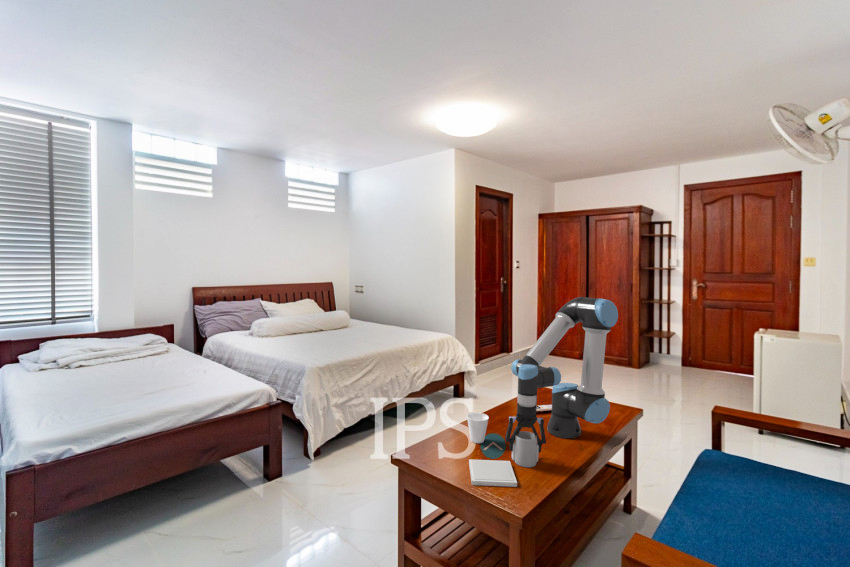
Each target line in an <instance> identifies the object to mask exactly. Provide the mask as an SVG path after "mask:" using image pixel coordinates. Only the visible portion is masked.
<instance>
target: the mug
mask: <svg viewBox="0 0 850 567" xmlns="http://www.w3.org/2000/svg"><path fill="white" fill-rule="evenodd" d="M514 443H515V460H514V463H515V464H516V465H517V466H519V467H522V468H533V467H535V466H536V465H537V462H538V461H537V436H536V437H535V435H534V433H533V432H530V431H526V430H525V431H523V430H522V431H521V430H520V432H519V434H518V435H517V436H516V435H515V441H514Z"/></svg>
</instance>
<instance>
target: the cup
mask: <svg viewBox="0 0 850 567" xmlns="http://www.w3.org/2000/svg"><path fill="white" fill-rule="evenodd" d="M466 419H467V426H468V432H469V440H470V441H471V443H473V442H474V443H473V444H482V443H484V441H485V438H486V433H487V427H488V423H489V419H490V417H489V415H488V414H486V413H483V412H471V413H468V414H467V415H466Z"/></svg>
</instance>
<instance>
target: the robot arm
mask: <svg viewBox="0 0 850 567" xmlns="http://www.w3.org/2000/svg"><path fill="white" fill-rule="evenodd" d="M618 318H619V312H618V308H617V306H616V305H615V303H614V302H613V301H611V300H609V299H605V298H598V297H597V298H596V297H586V296H578V297H575V298H573V299H571V300H569V301H568V302H566V303H565V304H564V305H562V306H561V307H560V309H559V310H557V312H556V313H555V318H554V319H553V320H552V322H551V323H550V324H549V326H547V328H546V329H545V331H544V332H543V333H542V334H541V335H540V336H539V338H538V339H537V341H535V343H534V344H533V345H532V346H531V347H530V349H529V350H528V352H527V353H526V354H525V355H524V356H523V358H522V359H521V358H519V359H518V358H517V359H515V360H514V361H512V364H511V367H510V369H511V373H512V374H513V375H514V376H515V377H517V400H516V401H517V404H516V414H515V416H511V415H509V416H508V421H509V422H508V425H507V428H506V432H505V436H504V439H505V442H506V443H509V446H508V448H509V451H510V452H511V460H512V461H515V435H516V436H517V435H518V434H519V432H520V431H521V430H522V429H523V428H529V429H531V431H532V433H534V435H535V437H536V436H537V461H536V462H539V453H541V452H542V446H543V444H545V445H546V444H547V439H546V432H545V426H544V423H545V420H544V418H543V417H542V416H541V417H537V404H538V403H537V402H538V401H537V400H538V389H541V388H549V387H551V388H552V389H551V415H550V417H549V421H548V422H547V426H546V428H547V429H546V430H547V432H548V434H551V435H552V436H555V437H557V438H561V439H567V438H573V439H576V438H575V437H578V436H580V435H581V436H582V429H581V425H580V422H579V419H581V420H584V421H586V422H588V423H592V424H595V425H596V424H600V423H603V422H604V421H605V420H606V419H607V417H608V415H609V413H610V411H611V410H610V409H611V404H610V401H609V400H608V399H607V398H606V397H605V396H606V392H605V391H604V389H603V388H602V387H603V377H604V366H605V355H606V354H605V353H606V343H607V342H606V341H607V334H608V333H610V332H611V331H612V329H611V328H613V327H614V326H615V325H616V324H617V322H618V320H619V319H618ZM578 323H581V325H582V326H581V327H582V329H583V330H584V331H585V332H584V333H585V334H584V346H583V355H582V357H583V358H582V365H581V366H582V367H581V369H582V370H581V377H580V378H581V380H580V385H579V384H577V383H571V382H561V381H562V374H561V371H560V370H559V369H558V368H557V367H554V366H549V367H546V366H545V367H544V366H541V365H542V364H543V362H544V361H545V360H546V358H547V357H548V356H549V355H550V353H551V352H552V351H553V350H554V348H556V346H557V344H558V343H559V342H560V340H561V339H562V338H563V337H564V336H565V335H566V334H567V332H568V331H569V329H572V328H574V327H575V326H576V325H577V324H578ZM578 418H579V419H578ZM515 422H517V424H516V426H515V429H514V430H513V428H514V427H513V426H514V423H515ZM536 423H537V424H538V425H539V433H540V436H539V434H538V432H537V430H536V428H535V424H536ZM581 436H580V437H581ZM578 438H579V437H578Z"/></svg>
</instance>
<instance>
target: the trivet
mask: <svg viewBox="0 0 850 567" xmlns="http://www.w3.org/2000/svg"><path fill="white" fill-rule="evenodd" d="M468 467H469V473H470V474H469V475H470V482H471V486H485V487H486V486H491V487H492V486H494V487H514V488H518V481H517V478H516V476H515V472H514V469H513V467H512V464H511V461H510V460H492V459H491V460H490V459H468Z"/></svg>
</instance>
